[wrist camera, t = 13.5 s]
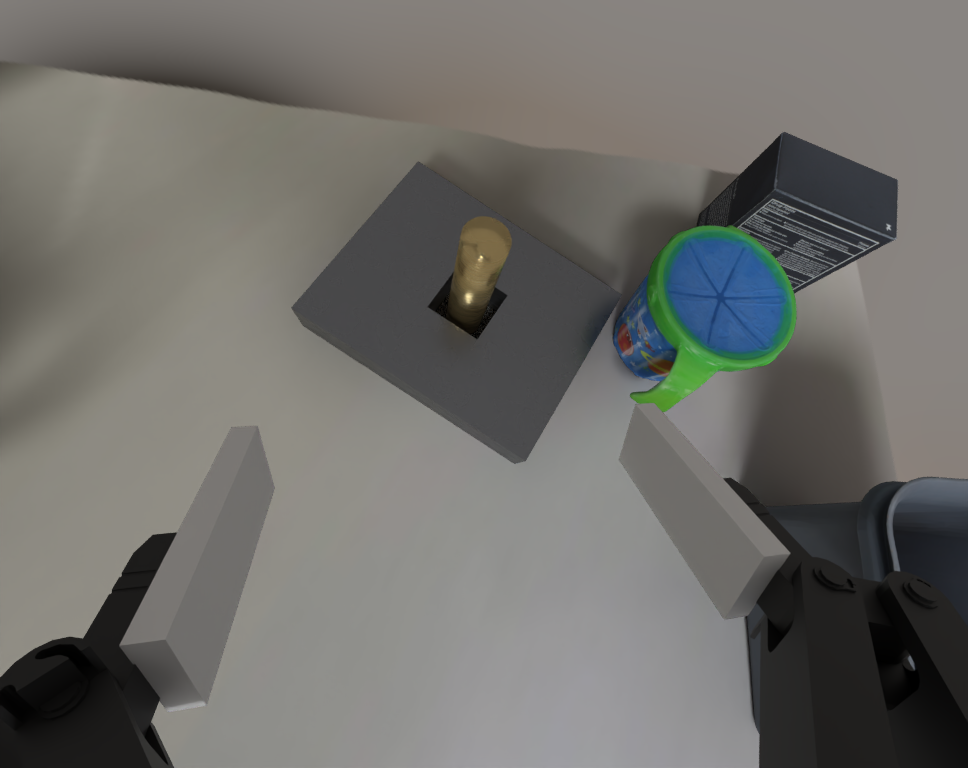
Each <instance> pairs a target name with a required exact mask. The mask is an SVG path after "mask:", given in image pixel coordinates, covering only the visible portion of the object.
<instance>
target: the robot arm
mask: <svg viewBox="0 0 968 768" xmlns="http://www.w3.org/2000/svg"><path fill="white" fill-rule="evenodd" d="M619 461H620V462H621V464H622V465H623V467H624V468H625V470H626V471H627V473H628V474H629V476H630V477H631V479H632V480H633V482H634V483H635V485H636V486H637V488H638V489H639V491H640V492H641V494H642V496H643V497H644V499H645V500H646V502H647V503H648V505H649V506H650V508H651V509H652V511H653V512H654V514H655V515H656V517H657V518H658V520H659V521H660V523H661V524H662V526H663V527H664V529H665V530H666V532H667V534H668V535H669V537H670V538H671V540H672V541H673V543H674V544H675V546H676V547H677V549H678V550H679V552H680V553H681V555H682V556H683V558H684V559H685V561H686V562H687V564H688V565H689V567H690V569H691V570H692V572H693V573H694V575H695V576H696V578H697V579H698V581H699V582H700V584H701V585H702V587H703V588H704V590H705V591H706V593H707V594H708V596H709V597H710V599H711V600H712V602H713V603H714V605H715V607H716V608H717V610H718V611H719V613H720V614H721V616H722V617H723V619H724V620H725V619H731V618H737V617H743V616H748V615H749V613H750V612H751V610H752V609H753V607H754V606H755V605H756V603H757V604H758V605H759V606H760V608H761V609H762V610H763V612H764V615H763V616H762V618H761V619H760V620H759V622H758V623H757V625H756V626H755V627H754V629H753V630H752V632H751V635H750V638H752V639H755V638H756V636H757V635H758V634H759V632H761V640H760V745H759V768H968V626H967V625H966V623H965V622H964V621H963V619H962V618H961V616H960V615H959V613H958V612H957V610H956V609H955V607H954V606H953V605H952V603H951V602H950V601H949V599H948V598H947V597H946V596H945V595H944V594H943V593H942V592H941V591H940V590H938V589H937V588H936V587H935V586H933V585H932V584H931V583H929V582H927V581H926V580H924V579H922V578H920V577H918V576H916V575H913V574H910V573H907V572H902V571H894V572H891V573H889V574H888V575H887V576H886V577H885V578H884V579H883V580H882V582H878V581H872V580H867V579H861V578H855V577H852V576H851V575H850V574H849V573H848V572H846V571H845V570H844V569H843V568H841V567H840V566H838V565H836V564H834V563H832V562H831V561H829V560H826V559H822V558H819V557H812V556H811V555H810V554H809V553H808V552H807V551H806V550H805V549H804V548H803V547H802V546H801V545H800V544H799V543H798V542H797V541H796V540H795V539H794V538H793V537H792V536H791V534H790V533H789V532H788V531H787V530H786V529H785V528H784V527H783V526H782V525H781V524H780V523H779V522H778V521H777V520H776V519H775V518H774V517H773V516H772V515H770V512H769V511H768V510H767V509H766V508H765V507H764V506H763V505H762V504H761V505H760V503H759V501H758V500H757V499H756V498H755V497H754V495H753V494H752V493H751V492H750V491H749V490H748V489H747V488H745V487H744V486H742V485H741V484H739V483H738V482H736V481H735V480H733V479H732V478H724V479H723V478H722V477H721V476H720V475H719V474H718V473H717V472H716V471H715V469H714V468H713V467H712V466H711V465H710V464H709V463H708V462H707V461H706V460H705V458H704V457H703V456H702V455H701V454H700V453H699V452H698V451H697V450H696V449H695V447H694V446H693V445H692V444H691V443H690V442H689V441H688V440H687V439H686V438H685V436H684V435H683V434H682V433H681V432H680V431H679V430H678V429H677V428H676V427H675V425H674V424H673V423H672V422H671V421H670V420H669V419H668V418H667V417H666V416H665V414H664V413H663V412H662V411H661V410H660V409H659V408H658V407H657V406H656V404H655V403H645V404H635V408H634V411H633V414H632V418H631V421H630V424H629V428H628V431H627V434H626V438H625V441H624V444H623V448H622V451H621V454H620V458H619ZM274 489H275V487H274V484H273V480H272V476H271V473H270V469H269V466H268V462H267V458H266V455H265V451H264V447H263V444H262V440H261V436H260V433H259V429H258V426H244V427H231V429H230V431H229V433H228V435H227V437H226V439H225V441H224V443H223V444H222V446H221V448H220V450H219V452H218V454H217V456H216V458H215V460H214V462H213V464H212V466H211V468H210V470H209V472H208V474H207V476H206V478H205V480H204V481H203V483H202V485H201V487H200V489H199V491H198V493H197V495H196V497H195V499H194V501H193V503H192V505H191V507H190V509H189V511H188V513H187V515H186V517H185V518H184V520H183V522H182V524H181V526H180V528H179V530H178V532H177V533H166V534H156V535H152V536H151V537H150V538H149V539H148V540H147V541H146V542H145V543H144V544H143V545H142V546H141V547H139V548H138V549H137V550H136V551H135V552H134V553H133V555H132V557H131V558H130V560H129V562H128V563H127V565H126V567H125V568H124V570H123V572H122V576H121V577H119V579H118V580H117V582H116V584H115V585H114V587H113V589H112V593H111V594H109V596H108V597H107V599H106V601H105V602H104V604H103V606H102V607H101V609H100V611H99V613H98V614H97V616H96V618H95V619H94V621H93V623H92V624H91V626H90V628H89V630H88V631H87V633H86V635H85V636H84V638H83V639H82V638H75V637H66V638H61V639H57V640H52V641H50V642H48V643H46V644H44V645H42V646H39V647H37V648H35V649H33V650H32V651H30V652H29V653H28V654H26V655H25V656H23V657H22V658H21V659H19V660H18V661H16V662H15V663H14V664H13V665H12V666H11V667H10V668H9V669H8V670H7V671H6V672H5V673H4V674H3V675H2V676H1V677H0V768H174V767H173V764H172V762H171V760H170V758H169V756H168V754H167V752H166V750H165V748H164V745H163V743H162V741H161V739H160V737H159V735H158V733H157V731H156V729H155V726H154V725H153V724H152V723H151V720H152V718H153V715H154V713H155V710H156V708H157V705H158V703H159V701H160V702H161V703H162V705H163V706H164V707H165V709H166V710H167V711H168V712H172V711H178V710H184V709H190V708H196V707H202V706H207V702H208V699H209V696H210V693H211V690H212V687H213V683H214V680H215V677H216V674H217V671H218V667H219V664H220V661H221V658H222V655H223V651H224V648H225V645H226V642H227V639H228V635H229V632H230V629H231V626H232V623H233V620H234V616H235V613H236V610H237V607H238V604H239V600H240V597H241V594H242V591H243V588H244V584H245V581H246V578H247V575H248V572H249V569H250V565H251V562H252V559H253V556H254V553H255V549H256V546H257V543H258V540H259V537H260V533H261V530H262V527H263V524H264V521H265V518H266V514H267V511H268V508H269V505H270V502H271V498H272V495H273V492H274ZM909 656H911V658H912V660H913V662H914V663H915V665H916V667H917V670H914V669H913V667H912V666H911V664H910V662H909V661H908V659H907V658H908V657H909Z"/></svg>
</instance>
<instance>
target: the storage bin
mask: <svg viewBox="0 0 968 768" xmlns="http://www.w3.org/2000/svg"><path fill="white" fill-rule="evenodd" d="M765 508H766V509H767V510H768V511H769V512H770V515H772V516H773V517H774V518H775V519H776V520H777V521H778V522H779V523H780V524H781V525H782V526H783V527H784V528H785V529H786V530H787V531H788V532H789V533H790V534H791V536H792V537H793V538H794V539H795V540H796V541H797V542H798V543H799V544H800V545H801V546H802V547H803V548H804V549H805V550H806V551H807V552H808V553H809V554H810V555H811V556H812V557H819V558H822V559H826V560H829V561H831V562H832V563H834V564H836V565H838V566H840V567H841V568H843V569H844V570H845V571H846V572H848V573H849V574H850V575H851V576H852V577H855V578H861V579H867V580H872V581H878V582H882V580H883V579H884V578H885V577H886V576H887V575H888V574H889V573H891V572H894V571H902V572H907V573H910V574H913V575H916V576H918V577H920V578H922V579H924V580H926V581H927V582H929V583H931V584H932V585H933V586H935V587H936V588H937V589H938V590H940V591H941V592H942V593H943V594H944V595H945V596H946V597H947V598H948V599H949V601H950V602H951V603H952V605H953V606H954V607H955V609H956V610H957V612H958V613H959V615H960V616H961V618H962V619H963V621H964V622H965V623H966V625H967V626H968V479H953V478H939V477H922V478H917V479H914V480H911V481H909V482H894V481H892V482H885V483H881V484H879V485H876V486H875V487H873V488H872V489H871V490H870V491H869V492H868V493H867V494H866V495H865V497H864V498H863V500H862V502H851V503H831V504H812V505H792V506H771V507H765ZM763 615H764V612H763V610H762V609H761V608H760V606H759V605H758V604H757V603H756V605H755V606H754V607H753V609H752V610H751V612H750V613H749V615H748V616H747V621H748V634H749V647H750V660H751V673H752V687H753V702H754V717H755V724H756V728H757V730H758V733H759V734H760V640H761V632H759V634H758V635H757V636H756V638H755V639H752V638H750V635H751V632H752V630H753V629H754V627H755V626H756V625H757V623H758V622H759V620H760V619H761V618H762V616H763ZM907 659H908V661H909V662H910V664H911V666H912V667H913V669H914V670H917V667H916V665H915V663H914V662H913V660H912V658H911V656H909V657H908V658H907Z"/></svg>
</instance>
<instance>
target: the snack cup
mask: <svg viewBox="0 0 968 768" xmlns="http://www.w3.org/2000/svg"><path fill="white" fill-rule="evenodd" d="M795 324H796V301H795V296H794V292H793V289H792V286H791V283H790V281H789V279H788V277H787V275H786V273H785V271H784V270H783V268H782V267H781V265H780V264H779V262H778V261H777V260H776V259H775V257H774V256H773V255H772V254H771V253H770V252H769V251H768V250H767V249H766V248H764V247H763V246H762V245H761V244H760V243H758V241H757V239H754V238H753V237H751V236H750V235H748V234H747V233H745V232H743V231H742V230H740V229H738V228H736V227H734V226H732V225H729V226H727V227H722V226H721V227H720V226H699V227H695V228H692V229H689V230H687V231H682V232H680V233H678V234H676V235H674V236H673V237H672V238H671V239H670V241H669V242H668V244H667V245H666V246H665V247H664V248H663V249H662V250H661V251H660V252H659V254H658V255H657V257H656V258H655V259H654V261H653V263H652V266H651V268H650V271H649V274H648V276H647V277H646V278H645V279H644V281H643V282H642V283H641V285H640V286H639V288H638V289H637V290H636V292H635V293H634V295H633V296H632V297H631V299H630V300H629V302H628V304H627V305H626V306H625V308H624V309H623V311H622V312H621V314H620V316H619V317H618V320H617V322H616V326H615V333H614V336H613V339H614V346H615V347H616V349H617V351H618V353H619V355H620V357H621V359H622V360H623V362H624V363H625V364H626V365H627V366H628V367H629V369H630V370H632V371H633V372H634V374H635V375H636V376H639V377H642V378H647V379H650V380H656V381H660V383H658V384H657V385H656V386H654V387H653V388H652V389H650V390H649V391H646V392H633V393H631V394H630V397H631V398H632V399H633V400H634V401H636V402H637V403H639V404H645V403H655V404H656V406H657V407H658V408H659V409H660V410H661V411H662V412H666V411H667V410H668V409H670V408H671V407H672V406H674V405H675V404H676V403H678V402H679V401H680V400H682V399H683V398H685V397H686V396H688V395H689V394H691V393H692V392H693V391H695V390H696V389H697V388H699V387H700V386H701V385H702V384H703V383H705V382H706V381H707V380H708V379H709V378H710V377H711V376H713V375H714V374H715V373H716V372H717V371H729V372H730V371H740V370H746V369H750V368H753V367H756V366H765V365H767V364H769V363H770V362H772V361H773V360H775V359H776V358H777V355H778V354H779V353H780V352H781V351H782V350H784V348H785V347H786V346H787V344H788V343H789V341H790V339H791V337H792V335H793V332H794V328H795Z"/></svg>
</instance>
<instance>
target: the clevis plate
mask: <svg viewBox="0 0 968 768" xmlns="http://www.w3.org/2000/svg"><path fill="white" fill-rule="evenodd" d="M480 216H487V217H492V218H494V219H497V220H499V221H500V222H501V223H503V224H504V225H505V226H506V227H507V229H508V230H509V232H510V235H511V239H512V245H511V249H510V251H509V254H508V256H507V259H506V261H505V264H504V266H503V269H502V271H501V274H500V276H499V279H498V281H497V284H496V286H495V288H494V291H493V293H492V296H491V298H490V301H489V303H488V306H489V307H491V308H492V309H494V310H495V311H497V312H496V313H495V314H494V316H493V317H492V319H491V320H490V322H489V323H488V325H487V326H486V328H485V329H484V331H483V332H482V334H481V335H480V336H479V338H478V339H476V338H474V337H473V336H471V335H470V334H468V333H466V332H465V331H463V330H462V329H460V328H459V327H457V326H456V325H454V324H453V323H451V322H450V321H448V320H447V319H445V318H444V317H442V316H440V315H439V314H437V313H436V312H435V311H436V310H437V309H438V307H439V306H440V304H441V303H442V302H443V300H444V299H445V298H446V296H447V295H448V294H449V292H450V289H451V284H452V279H453V273H454V268H455V262H456V257H457V252H458V246H459V241H460V235H461V231H462V229H463V227H464V225H465V224H466V223H467V222H468V221H469V220H471V219H473V218H476V217H480ZM620 297H621V294H620V293H618V292H617V291H615V290H614V289H612V288H611V287H609V286H608V285H606V284H605V283H603V282H602V281H600V280H598V279H597V278H595V277H594V276H592V275H591V274H589V273H588V272H586V271H585V270H583V269H582V268H580V267H579V266H577V265H576V264H574V263H573V262H571V261H570V260H568V259H566V258H565V257H563V256H562V255H560V254H559V253H557V252H556V251H554V250H553V249H551V248H550V247H548V246H547V245H545V244H544V243H542V242H541V241H539V240H537V239H536V238H534V237H533V236H531V235H530V234H528V233H527V232H525V231H524V230H522V229H521V228H519V227H518V226H516V225H515V224H513V223H512V222H510V221H508V220H507V219H505V218H504V217H502V216H501V215H499V214H498V213H496V212H495V211H493V210H492V209H490V208H489V207H487V206H486V205H484V204H483V203H481V202H479V201H478V200H476V199H475V198H473V197H472V196H470V195H469V194H467V193H466V192H464V191H463V190H461V189H460V188H458V187H457V186H455V185H454V184H452V183H451V182H449V181H447V180H446V179H444V178H443V177H441V176H440V175H438V174H437V173H435V172H434V171H432V170H431V169H429V168H428V167H426V166H425V165H423V164H422V163H420V162H417V164H416V165H415V166H414V167H413V168H412V169H411V170H410V172H409V173H408V174H407V175H406V176H405V177H404V179H403V180H402V181H401V182H400V183H399V184H398V185H397V187H396V188H395V189H394V190H393V191H392V192H391V194H390V195H389V196H388V197H387V198H386V199H385V200H384V202H383V203H382V204H381V205H380V206H379V207H378V209H377V210H376V211H375V212H374V213H373V214H372V215H371V217H370V218H369V219H368V220H367V221H366V222H365V224H364V225H363V226H362V227H361V228H360V229H359V230H358V232H357V233H356V234H355V235H354V236H353V237H352V239H351V240H350V241H349V242H348V243H347V244H346V245H345V247H344V248H343V249H342V250H341V251H340V252H339V254H338V255H337V256H336V257H335V258H334V259H333V260H332V262H331V263H330V264H329V265H328V266H327V267H326V269H325V270H324V271H323V272H322V273H321V274H320V275H319V277H318V278H317V279H316V280H315V281H314V282H313V283H312V285H311V286H310V287H309V288H308V289H307V290H306V292H305V293H304V294H303V295H302V296H301V297H300V298H299V300H298V301H297V302H296V303H295V304H294V305H293V307H292V310H293V311H294V313H295V314H296V316H297V317H298V319H299V320H300V322H301V323H302V325H303V326H304V327H306V328H307V329H309V330H310V331H312V332H313V333H315V334H316V335H318V336H320V337H321V338H323V339H324V340H326V341H327V342H329V343H330V344H332V345H333V346H335V347H336V348H338V349H339V350H341V351H343V352H344V353H346V354H347V355H349V356H350V357H352V358H353V359H355V360H356V361H358V362H359V363H361V364H362V365H364V366H366V367H367V368H369V369H370V370H372V371H373V372H375V373H376V374H378V375H379V376H381V377H382V378H384V379H385V380H387V381H388V382H390V383H392V384H393V385H395V386H396V387H398V388H399V389H401V390H402V391H404V392H405V393H407V394H408V395H410V396H411V397H413V398H415V399H416V400H418V401H419V402H421V403H422V404H424V405H425V406H427V407H428V408H430V409H431V410H433V411H434V412H436V413H438V414H439V415H441V416H442V417H444V418H445V419H447V420H448V421H450V422H451V423H453V424H454V425H456V426H457V427H459V428H461V429H462V430H464V431H465V432H467V433H468V434H470V435H471V436H473V437H474V438H476V439H477V440H479V441H480V442H482V443H483V444H485V445H487V446H488V447H490V448H491V449H493V450H494V451H496V452H497V453H499V454H500V455H502V456H503V457H505V458H506V459H508V460H510V461H511V462H513V463H514V464H515V463H519V462H523V461H526V459H527V458H528V456H529V454H530V452H531V451H532V449H533V447H534V446H535V444H536V442H537V440H538V439H539V437H540V435H541V433H542V432H543V430H544V428H545V427H546V425H547V423H548V421H549V420H550V418H551V416H552V414H553V413H554V411H555V409H556V408H557V406H558V404H559V402H560V401H561V399H562V397H563V396H564V394H565V392H566V390H567V389H568V387H569V385H570V383H571V382H572V380H573V378H574V377H575V375H576V373H577V371H578V370H579V368H580V366H581V364H582V363H583V361H584V359H585V358H586V356H587V354H588V352H589V351H590V349H591V347H592V345H593V344H594V342H595V340H596V339H597V337H598V335H599V333H600V332H601V330H602V328H603V327H604V325H605V323H606V321H607V320H608V318H609V316H610V314H611V313H612V311H613V309H614V308H615V306H616V304H617V302H618V301H619V299H620Z"/></svg>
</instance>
